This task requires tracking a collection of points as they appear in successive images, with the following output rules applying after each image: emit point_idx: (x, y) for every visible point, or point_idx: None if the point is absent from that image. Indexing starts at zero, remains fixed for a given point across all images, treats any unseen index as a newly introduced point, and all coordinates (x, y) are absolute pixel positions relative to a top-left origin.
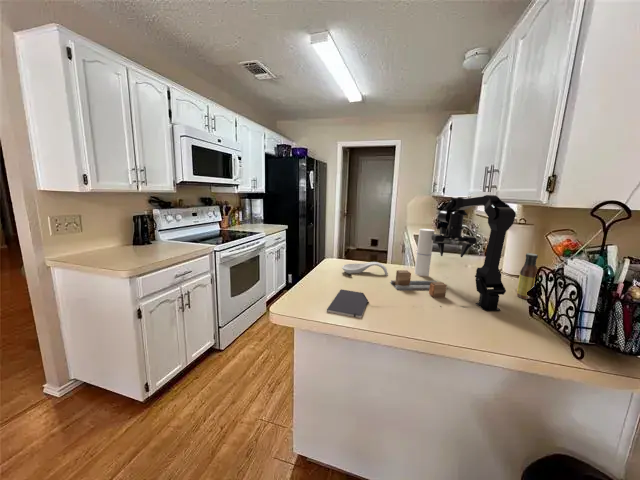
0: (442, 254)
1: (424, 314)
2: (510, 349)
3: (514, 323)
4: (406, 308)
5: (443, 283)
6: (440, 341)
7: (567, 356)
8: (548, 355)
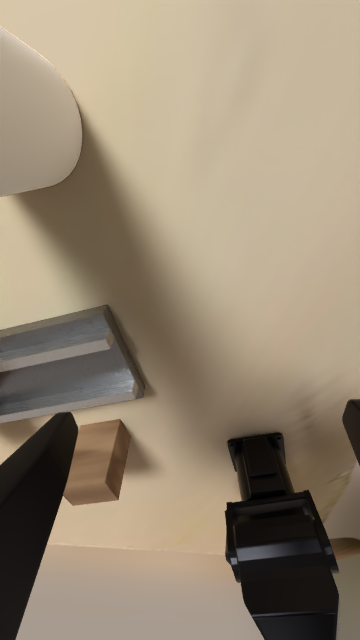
0: (66, 463)
1: None
2: (200, 547)
3: None
4: None
5: (107, 490)
6: (95, 546)
7: None
8: None
